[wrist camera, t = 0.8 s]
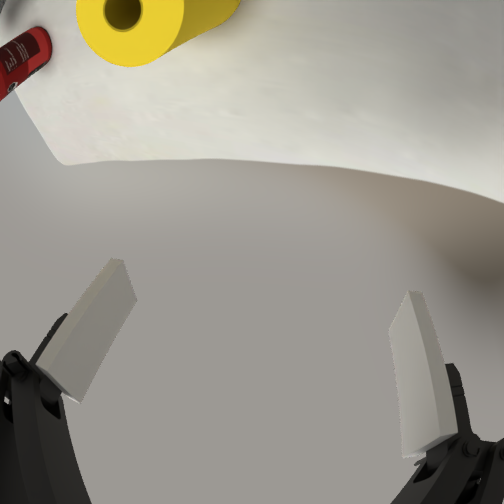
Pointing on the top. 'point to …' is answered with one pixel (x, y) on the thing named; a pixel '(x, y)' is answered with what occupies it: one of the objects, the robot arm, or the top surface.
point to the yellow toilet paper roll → (146, 26)
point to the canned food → (23, 58)
